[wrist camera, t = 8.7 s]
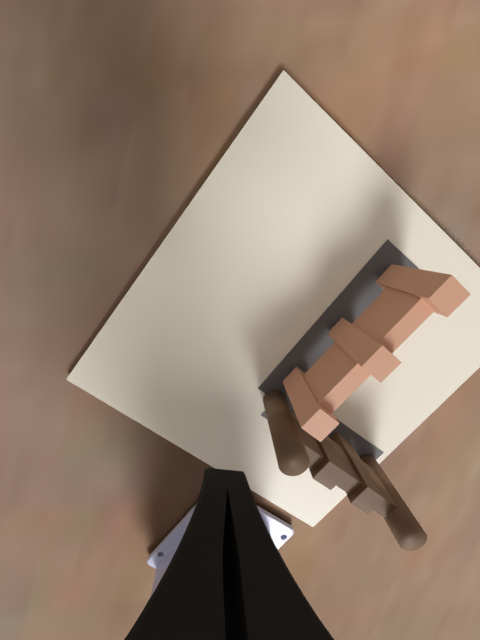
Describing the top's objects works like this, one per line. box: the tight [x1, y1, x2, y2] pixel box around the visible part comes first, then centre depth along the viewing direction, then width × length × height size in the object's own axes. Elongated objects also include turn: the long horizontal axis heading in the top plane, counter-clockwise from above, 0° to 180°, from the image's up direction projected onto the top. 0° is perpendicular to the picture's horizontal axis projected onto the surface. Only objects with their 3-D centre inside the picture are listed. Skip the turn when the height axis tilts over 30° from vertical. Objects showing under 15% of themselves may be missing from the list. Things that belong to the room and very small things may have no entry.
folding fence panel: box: [282, 264, 471, 442], centre depth 17 cm, size 10×1×5 cm, turn 140°
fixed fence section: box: [263, 390, 427, 551], centre depth 19 cm, size 2×11×6 cm, turn 52°
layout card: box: [66, 70, 480, 527], centre depth 20 cm, size 22×22×1 cm
